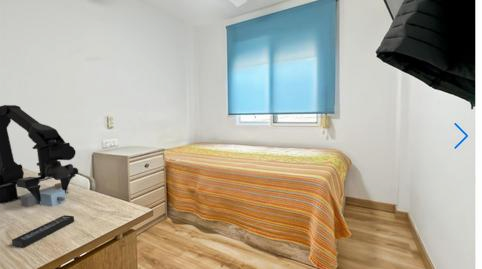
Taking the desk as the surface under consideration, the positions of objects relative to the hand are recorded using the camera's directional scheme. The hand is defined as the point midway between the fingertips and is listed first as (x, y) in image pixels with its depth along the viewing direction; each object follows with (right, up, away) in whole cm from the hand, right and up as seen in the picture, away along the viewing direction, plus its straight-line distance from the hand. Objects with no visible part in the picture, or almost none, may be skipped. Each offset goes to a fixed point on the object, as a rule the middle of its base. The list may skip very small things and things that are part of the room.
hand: (52, 196), depth 87 cm
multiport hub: (+17, -5, -22) cm, 28 cm away
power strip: (-7, -2, +5) cm, 9 cm away
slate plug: (0, -3, 0) cm, 3 cm away
